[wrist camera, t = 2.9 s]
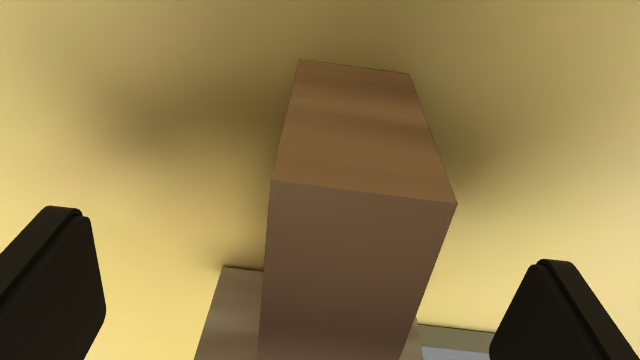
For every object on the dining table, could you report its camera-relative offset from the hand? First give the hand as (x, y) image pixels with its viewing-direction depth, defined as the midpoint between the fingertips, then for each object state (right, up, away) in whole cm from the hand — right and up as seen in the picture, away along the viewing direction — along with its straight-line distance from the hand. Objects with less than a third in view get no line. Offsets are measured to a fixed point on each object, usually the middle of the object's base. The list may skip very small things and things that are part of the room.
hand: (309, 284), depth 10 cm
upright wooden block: (+1, +2, +5) cm, 5 cm away
